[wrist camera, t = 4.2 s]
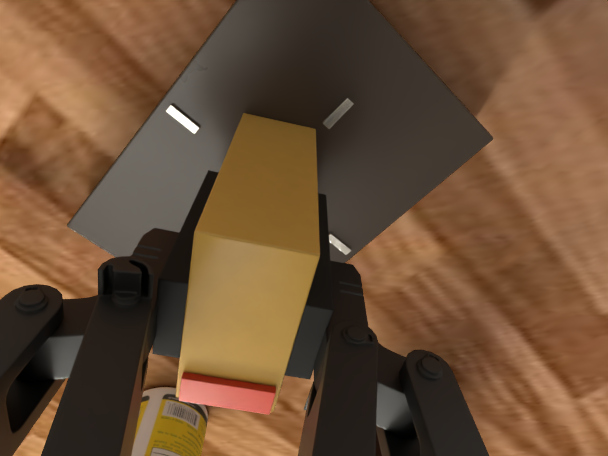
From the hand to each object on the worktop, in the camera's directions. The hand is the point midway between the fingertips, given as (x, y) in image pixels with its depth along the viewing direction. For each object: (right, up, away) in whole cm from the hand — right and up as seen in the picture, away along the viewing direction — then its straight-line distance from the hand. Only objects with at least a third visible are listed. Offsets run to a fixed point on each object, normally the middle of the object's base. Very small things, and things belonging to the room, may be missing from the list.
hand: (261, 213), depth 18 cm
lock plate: (0, +3, +4) cm, 5 cm away
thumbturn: (0, +1, +2) cm, 2 cm away
